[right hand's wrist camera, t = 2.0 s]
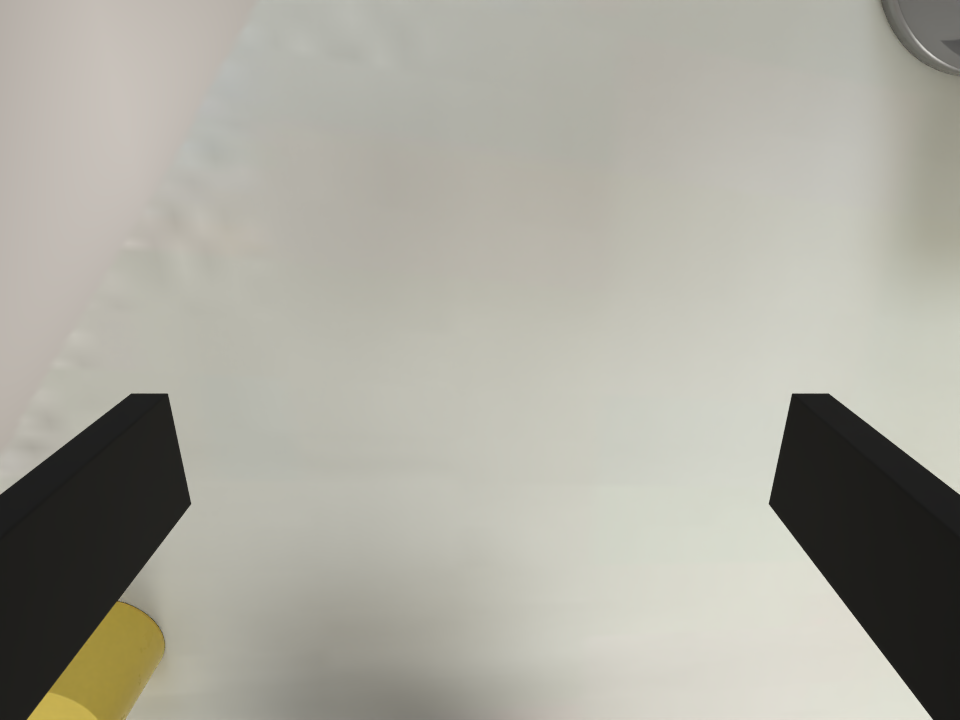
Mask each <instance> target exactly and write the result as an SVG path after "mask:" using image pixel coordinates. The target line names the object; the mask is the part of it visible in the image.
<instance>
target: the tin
mask: <svg viewBox="0 0 960 720" xmlns="http://www.w3.org/2000/svg"><path fill="white" fill-rule="evenodd" d="M164 648H165V644H164V638H163V635H162V633H161V631H160V629H159V627H158V626H157V625H156V623H155V622H154V621H153V620H152V619H151V618H150V617H149V616H147V615H146V614H145V613H144V612H142V611H140V610H139V609H137V608H135V607H133V606H131V605H128V604H125V603H122V602H118V601H117V602H116V603H115V605H114V606H113V607H112V609H111V610H110V611H109V613H108V614H107V615H106V616H105V618H104V619H103V620H102V622H101V623H100V624H99V626H98V627H97V628H96V630H95V631H94V632H93V634H92V635H91V636H90V637H89V639H88V640H87V641H86V643H85V644H84V645H83V647H82V648H81V649H80V651H79V652H78V653H77V655H76V656H75V657H74V659H73V660H72V661H71V662H70V664H69V665H68V666H67V668H66V669H65V670H64V672H63V673H62V674H61V676H60V677H59V678H58V680H57V681H56V682H55V683H54V685H53V686H52V687H51V689H50V690H49V691H48V693H47V694H46V695H45V697H44V698H43V699H42V701H41V702H40V703H39V704H38V706H37V707H36V708H35V710H34V711H33V712H32V714H31V715H30V716H29V718H28V719H27V720H125V719H126V717H127V716H128V714H129V712H130V711H131V709H132V707H133V706H134V704H135V702H136V701H137V699H138V697H139V696H140V694H141V692H142V690H143V689H144V687H145V685H146V684H147V682H148V680H149V679H150V677H151V675H152V674H153V672H154V670H155V669H156V667H157V665H158V664H159V662H160V660H161V658H162V656H163V654H164Z"/></svg>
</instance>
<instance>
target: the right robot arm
mask: <svg viewBox="0 0 960 720" xmlns="http://www.w3.org/2000/svg"><path fill="white" fill-rule="evenodd" d="M881 2H882V5H883V9H884V12H885V14H886V17H887V19H888V22H889V24H890V26H891V28H892V29H893V31H894V33H895V35H896V36H897V37H898V39H899V40H900V42H901V43H902V44H903V45H904V46H905V48H906V49H907V50H908V51H909V52H910V53H911V54H913V55H914V56H915V57H916V58H917V59H919V60H920V61H922V62H923V63H925V64H926V65H928V66H930V67H932V68H934V69H937V70H939V71H942V72H945V73H948V74H953V75H958V76H960V0H881ZM190 505H191V501H190V496H189V491H188V487H187V482H186V477H185V472H184V468H183V463H182V458H181V454H180V449H179V444H178V439H177V435H176V430H175V425H174V420H173V416H172V411H171V406H170V402H169V397H168V394H130V395H129V396H128V397H126V398H125V399H124V400H122V401H121V402H120V403H119V404H117V405H116V406H115V407H113V408H112V409H111V410H110V411H108V412H107V413H106V414H104V415H103V416H102V417H100V418H99V419H98V420H97V421H95V422H94V423H93V424H91V425H90V426H89V427H87V428H86V429H85V430H84V431H82V432H81V433H80V434H78V435H77V436H76V437H75V438H73V439H72V440H71V441H69V442H68V443H67V444H65V445H64V446H63V447H62V448H60V449H59V450H58V451H56V452H55V453H54V454H52V455H51V456H50V457H49V458H47V459H46V460H45V461H43V462H42V463H41V464H40V465H38V466H37V467H36V468H34V469H33V470H32V471H30V472H29V473H28V474H27V475H25V476H24V477H23V478H21V479H20V480H19V481H17V482H16V483H15V484H14V485H12V486H11V487H10V488H8V489H7V490H6V491H5V492H3V493H2V494H1V495H0V720H27V719H28V718H29V716H30V715H31V714H32V712H33V711H34V710H35V708H36V707H37V706H38V704H39V703H40V702H41V701H42V699H43V698H44V697H45V695H46V694H47V693H48V691H49V690H50V689H51V687H52V686H53V685H54V683H55V682H56V681H57V680H58V678H59V677H60V676H61V674H62V673H63V672H64V670H65V669H66V668H67V666H68V665H69V664H70V662H71V661H72V660H73V659H74V657H75V656H76V655H77V653H78V652H79V651H80V649H81V648H82V647H83V645H84V644H85V643H86V641H87V640H88V639H89V637H90V636H91V635H92V634H93V632H94V631H95V630H96V628H97V627H98V626H99V624H100V623H101V622H102V620H103V619H104V618H105V616H106V615H107V614H108V613H109V611H110V610H111V609H112V607H113V606H114V605H115V603H116V602H117V601H118V599H119V598H120V597H121V595H122V594H123V593H124V592H125V590H126V589H127V588H128V586H129V585H130V584H131V582H132V581H133V580H134V578H135V577H136V576H137V574H138V573H139V572H140V571H141V569H142V568H143V567H144V565H145V564H146V563H147V561H148V560H149V559H150V557H151V556H152V555H153V553H154V552H155V551H156V550H157V548H158V547H159V546H160V544H161V543H162V542H163V540H164V539H165V538H166V536H167V535H168V534H169V532H170V531H171V530H172V528H173V527H174V526H175V525H176V523H177V522H178V521H179V519H180V518H181V517H182V515H183V514H184V513H185V511H186V510H187V509H188V507H189V506H190ZM769 505H770V506H771V507H772V509H773V510H774V511H775V513H776V514H777V515H778V517H779V518H780V519H781V521H782V522H783V523H784V525H785V526H786V527H787V528H788V530H789V531H790V532H791V534H792V535H793V536H794V538H795V539H796V540H797V542H798V543H799V544H800V546H801V547H802V548H803V550H804V551H805V552H806V553H807V555H808V556H809V557H810V559H811V560H812V561H813V563H814V564H815V565H816V567H817V568H818V569H819V571H820V572H821V573H822V574H823V576H824V577H825V578H826V580H827V581H828V582H829V584H830V585H831V586H832V588H833V589H834V590H835V592H836V593H837V594H838V595H839V597H840V598H841V599H842V601H843V602H844V603H845V605H846V606H847V607H848V609H849V610H850V611H851V613H852V614H853V615H854V616H855V618H856V619H857V620H858V622H859V623H860V624H861V626H862V627H863V628H864V630H865V631H866V632H867V634H868V635H869V636H870V637H871V639H872V640H873V641H874V643H875V644H876V645H877V647H878V648H879V649H880V651H881V652H882V653H883V655H884V656H885V657H886V659H887V660H888V661H889V662H890V664H891V665H892V666H893V668H894V669H895V670H896V672H897V673H898V674H899V676H900V677H901V678H902V680H903V681H904V682H905V683H906V685H907V686H908V687H909V689H910V690H911V691H912V693H913V694H914V695H915V697H916V698H917V699H918V701H919V702H920V703H921V704H922V706H923V707H924V708H925V710H926V711H927V712H928V714H929V715H930V716H931V718H932V719H933V720H960V495H959V494H958V493H957V492H955V491H954V490H953V489H952V488H950V487H949V486H948V485H946V484H945V483H944V482H943V481H941V480H940V479H939V478H937V477H936V476H935V475H933V474H932V473H931V472H930V471H928V470H927V469H926V468H924V467H923V466H922V465H920V464H919V463H918V462H917V461H915V460H914V459H913V458H911V457H910V456H909V455H908V454H906V453H905V452H904V451H902V450H901V449H900V448H898V447H897V446H896V445H895V444H893V443H892V442H891V441H889V440H888V439H887V438H885V437H884V436H883V435H882V434H880V433H879V432H878V431H876V430H875V429H874V428H873V427H871V426H870V425H869V424H867V423H866V422H865V421H863V420H862V419H861V418H860V417H858V416H857V415H856V414H854V413H853V412H852V411H850V410H849V409H848V408H847V407H845V406H844V405H843V404H841V403H840V402H839V401H838V400H836V399H835V398H834V397H832V396H831V395H830V394H792V397H791V402H790V406H789V411H788V416H787V420H786V425H785V430H784V435H783V439H782V444H781V449H780V454H779V458H778V463H777V468H776V472H775V477H774V482H773V487H772V491H771V496H770V501H769Z"/></svg>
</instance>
